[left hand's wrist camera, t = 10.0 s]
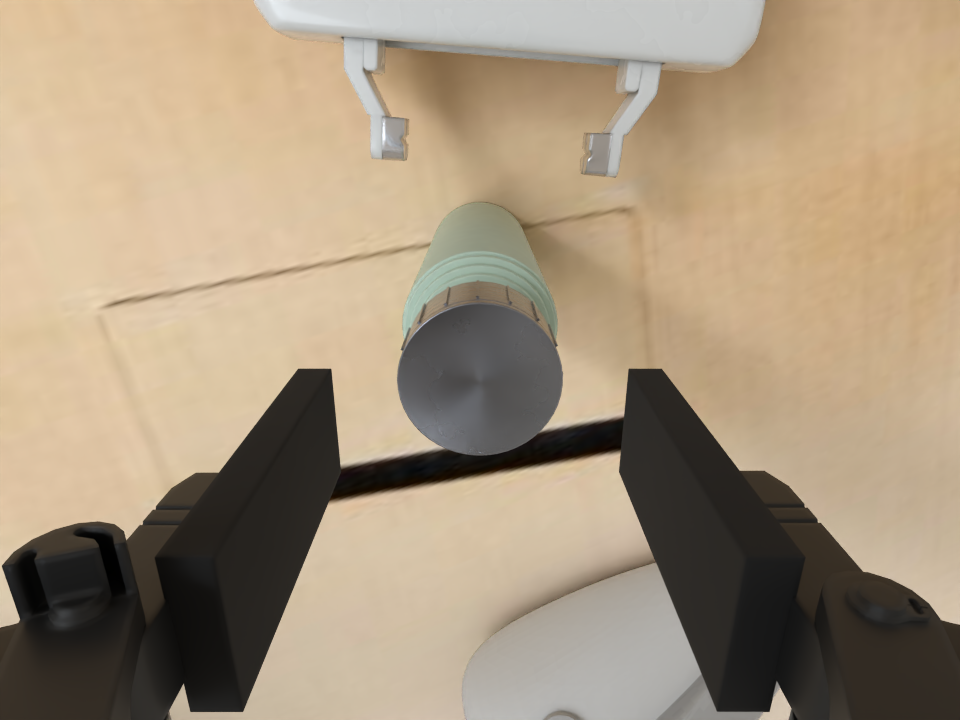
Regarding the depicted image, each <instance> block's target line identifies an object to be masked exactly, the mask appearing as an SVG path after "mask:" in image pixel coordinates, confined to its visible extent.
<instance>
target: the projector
mask: <svg viewBox="0 0 960 720" xmlns="http://www.w3.org/2000/svg"><path fill="white" fill-rule="evenodd" d="M779 688H780V686H779V684H778V682H776V686H775V690H774V695H773V697H774V696H775V694H776V693H777V691H778V690H779ZM462 701H463V708H464V714H465V718H466V720H758V719H759V718H760V717H761V715H762V714H763V712H717V711H716V708H715V706H714V703H713V701H712V698H711V696H710V693H709V691H708V689H707V686H706V684H705V681H704V679H703V676H702V674H701V671H700V669H699V666H698V664H697V662H696V659H695V657H694V654H693V652H692V649H691V647H690V644H689V642H688V640H687V637H686V635H685V632H684V630H683V627H682V625H681V622H680V620H679V617H678V615H677V613H676V610H675V608H674V605H673V603H672V600H671V598H670V595H669V593H668V590H667V588H666V586H665V583H664V581H663V578H662V576H661V573H660V571H659V568H658V566H657V564H656V563H652V564H649V565H646V566H642V567H639V568H636V569H633V570H630V571H627V572H624V573H621V574H618V575H615V576H612V577H609V578H607V579H604V580H602V581H599V582H597V583H594V584H591V585H589V586H586V587H584V588H582V589H579V590H577V591H575V592H572V593H570V594H568V595H565V596H563V597H561V598H559V599H557V600H554V601H552V602H550V603H548V604H546V605H544V606H542V607H540V608H538V609H536V610H534V611H532V612H530V613H528V614H526V615H524V616H522V617H521V618H519V619H517V620H515V621H514V622H512V623H510V624H508V625H507V626H505V627H504V628H502V629H501V630H499V631H498V632H496V633H495V634H494V635H492V636H491V637H490V638H489V639H487V640H486V641H485V642H484V643H483V644H482V645H481V646H480V647H479V648H478V649H477V651H476V652H475V653H474V654H473V656H472V657H471V659H470V661H469V663H468V665H467V667H466V670H465V673H464V676H463V682H462Z"/></svg>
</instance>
